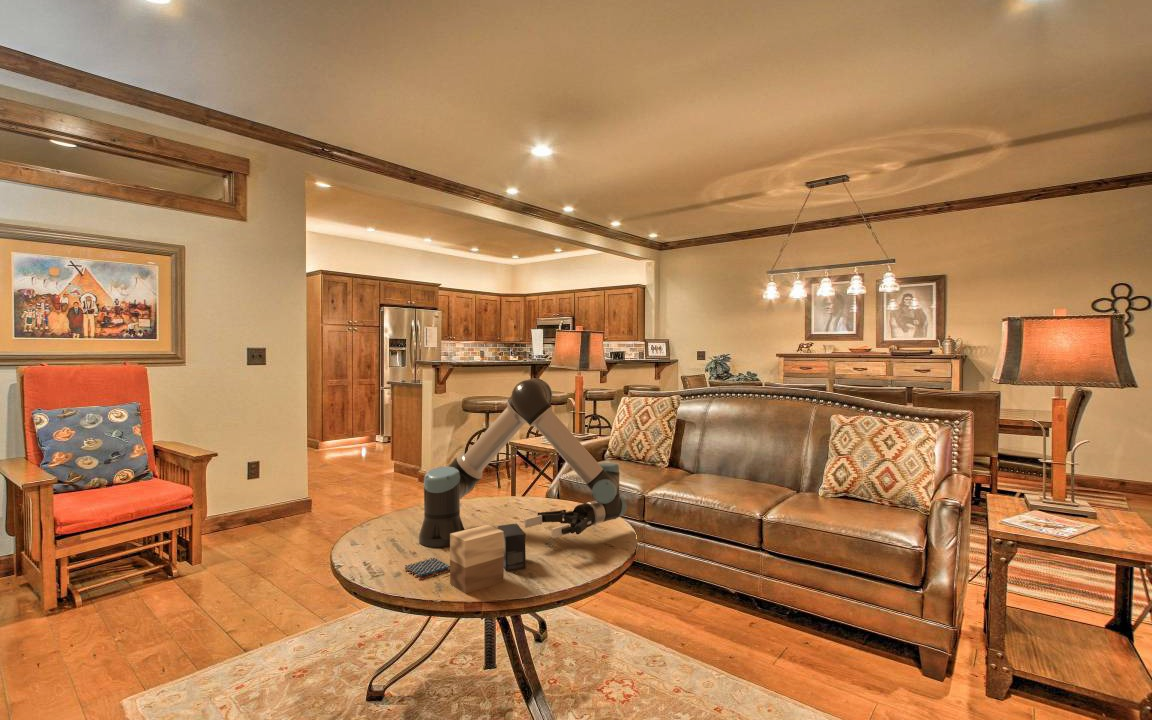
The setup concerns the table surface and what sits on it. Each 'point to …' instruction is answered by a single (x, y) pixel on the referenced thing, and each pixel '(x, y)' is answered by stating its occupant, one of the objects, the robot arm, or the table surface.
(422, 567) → the woven mat
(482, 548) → the tower top
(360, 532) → the table surface
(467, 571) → the tower base
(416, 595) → the table surface
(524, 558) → the small box
